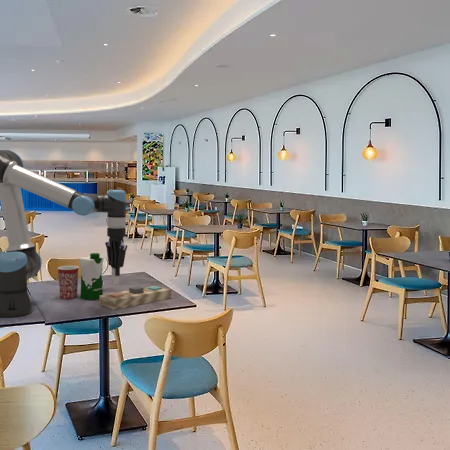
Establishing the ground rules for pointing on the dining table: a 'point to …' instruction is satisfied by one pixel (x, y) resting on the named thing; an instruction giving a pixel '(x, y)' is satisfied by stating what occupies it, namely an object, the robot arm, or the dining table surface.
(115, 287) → the dining table surface
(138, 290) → the charcoal button
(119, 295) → the terracotta button
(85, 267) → the milk carton
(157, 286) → the teal button
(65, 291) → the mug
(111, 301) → the oak button console
